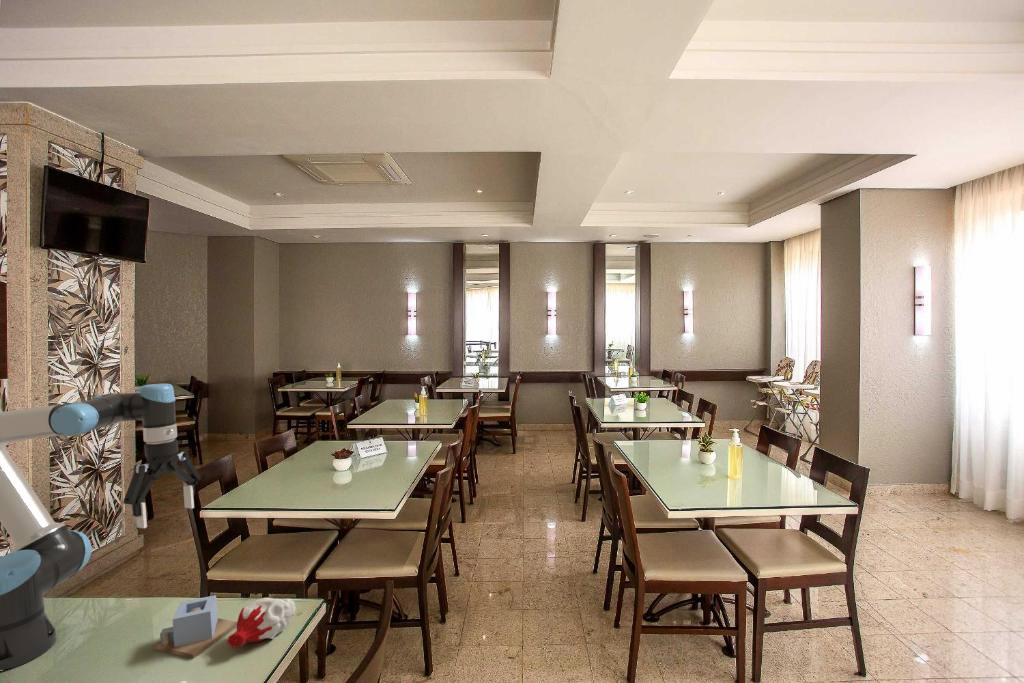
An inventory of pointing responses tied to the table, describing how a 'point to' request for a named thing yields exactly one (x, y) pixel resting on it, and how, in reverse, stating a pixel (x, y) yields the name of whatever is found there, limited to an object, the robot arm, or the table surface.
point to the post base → (198, 647)
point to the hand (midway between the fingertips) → (166, 517)
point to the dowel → (165, 639)
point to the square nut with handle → (193, 622)
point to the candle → (262, 620)
